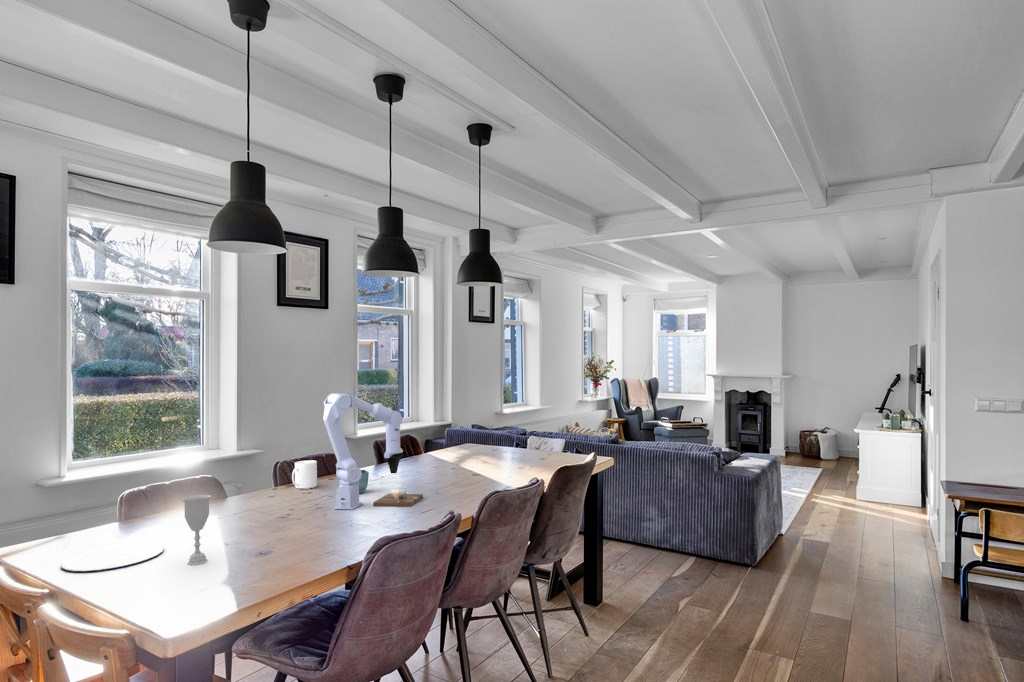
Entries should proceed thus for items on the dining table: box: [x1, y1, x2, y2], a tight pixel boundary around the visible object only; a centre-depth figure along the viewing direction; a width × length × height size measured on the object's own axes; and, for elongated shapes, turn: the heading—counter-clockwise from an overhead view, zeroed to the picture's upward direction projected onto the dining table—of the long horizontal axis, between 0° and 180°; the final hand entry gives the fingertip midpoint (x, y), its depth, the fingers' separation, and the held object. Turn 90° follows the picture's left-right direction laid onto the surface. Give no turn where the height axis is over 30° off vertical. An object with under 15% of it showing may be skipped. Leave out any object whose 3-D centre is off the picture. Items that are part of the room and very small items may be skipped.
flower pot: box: [359, 469, 370, 494], centre depth 258 cm, size 9×9×9 cm
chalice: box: [182, 494, 212, 566], centre depth 170 cm, size 7×7×18 cm
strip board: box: [372, 493, 424, 508], centre depth 238 cm, size 15×15×3 cm
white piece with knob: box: [390, 487, 407, 500], centre depth 234 cm, size 13×6×2 cm, turn 6°
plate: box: [60, 542, 165, 573], centre depth 175 cm, size 25×25×1 cm
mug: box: [291, 459, 318, 489], centre depth 271 cm, size 10×12×12 cm
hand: (393, 473), depth 247 cm, fingers closed
